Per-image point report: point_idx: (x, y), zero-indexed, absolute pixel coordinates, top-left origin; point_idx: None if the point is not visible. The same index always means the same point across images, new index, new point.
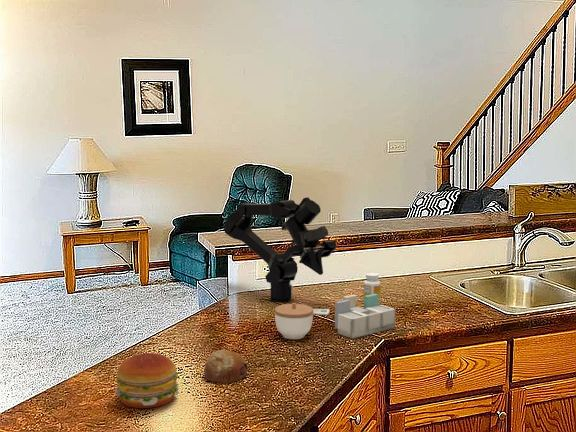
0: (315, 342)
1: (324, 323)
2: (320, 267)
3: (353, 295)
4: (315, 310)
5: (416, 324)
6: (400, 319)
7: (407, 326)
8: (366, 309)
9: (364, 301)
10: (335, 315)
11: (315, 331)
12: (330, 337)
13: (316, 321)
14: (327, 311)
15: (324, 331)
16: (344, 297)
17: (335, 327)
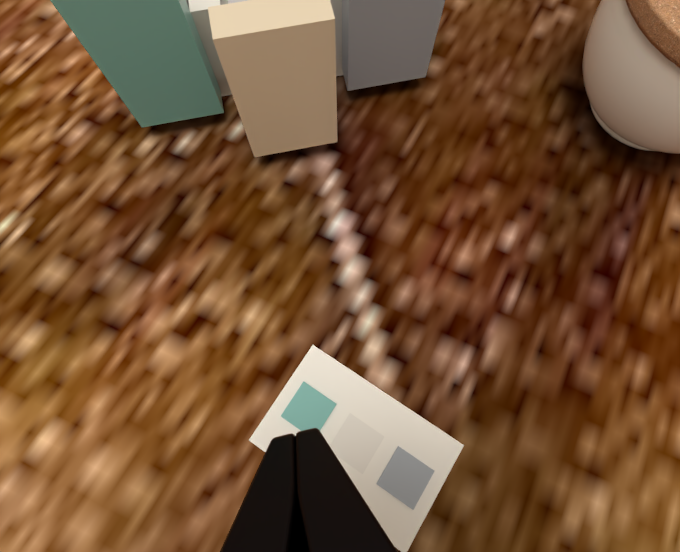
0: (572, 2)
1: (413, 212)
2: (289, 516)
3: (236, 16)
4: (359, 445)
5: (5, 31)
6: (6, 117)
7: (65, 24)
8: (221, 3)
9: (185, 13)
10: (438, 16)
11: (515, 120)
12: (481, 29)
13: (440, 261)
14: (289, 395)
15: (472, 104)
16: (330, 5)
17: (424, 71)
